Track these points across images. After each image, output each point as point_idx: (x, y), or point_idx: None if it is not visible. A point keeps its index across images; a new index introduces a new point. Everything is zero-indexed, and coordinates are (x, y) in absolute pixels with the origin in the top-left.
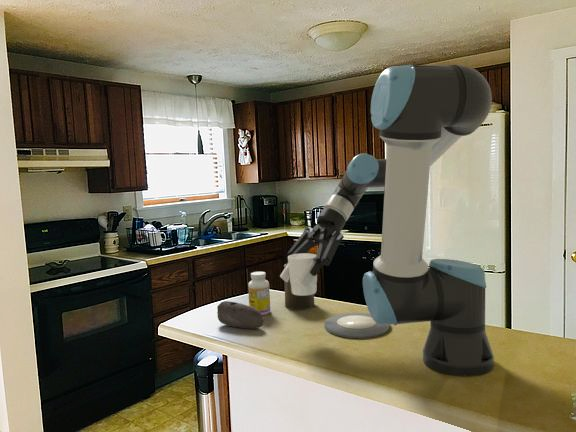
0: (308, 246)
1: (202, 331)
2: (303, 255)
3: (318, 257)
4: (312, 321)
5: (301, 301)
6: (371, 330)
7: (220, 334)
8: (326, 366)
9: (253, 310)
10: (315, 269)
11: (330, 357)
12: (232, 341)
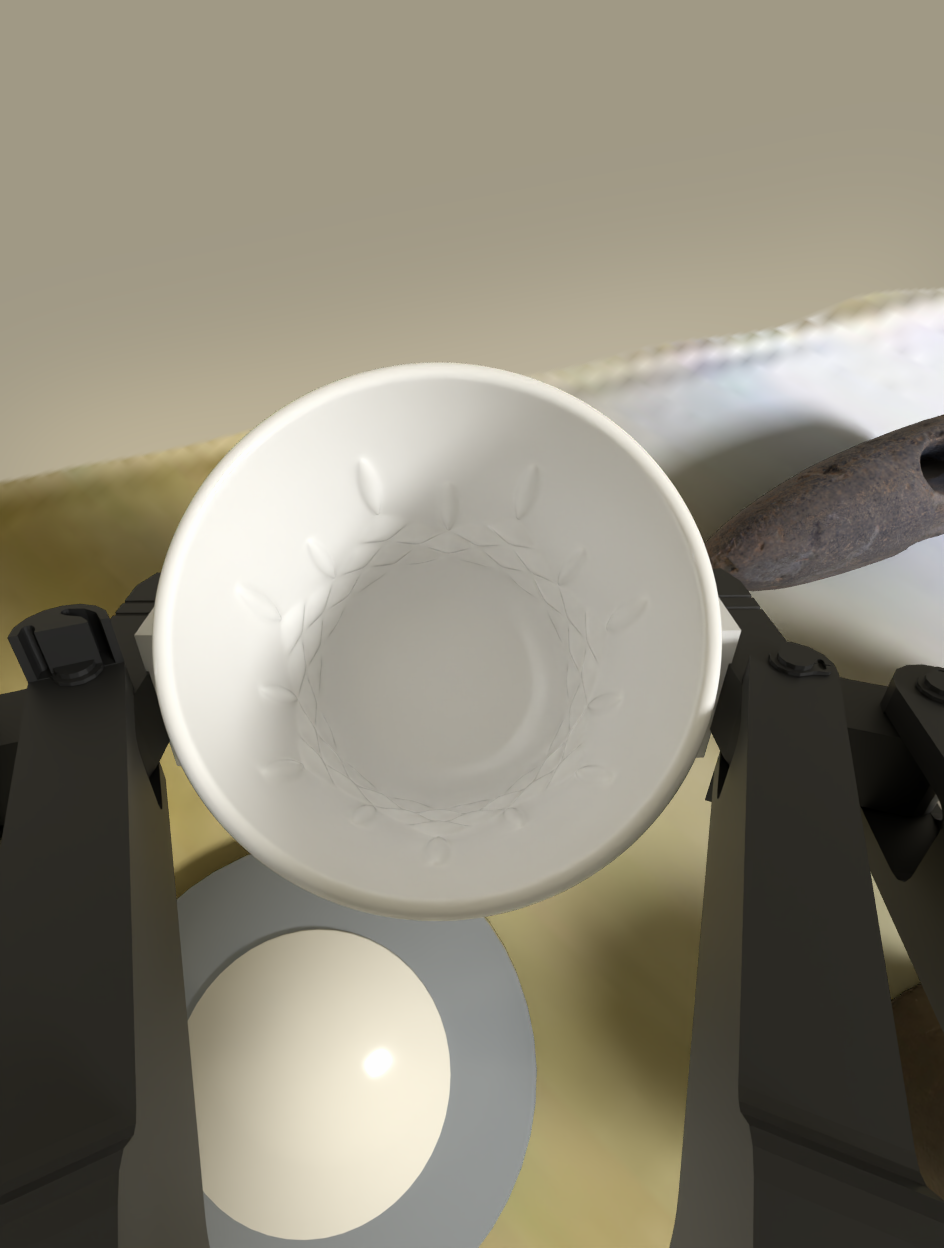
0: (708, 1027)
1: (873, 353)
2: (627, 803)
3: (52, 704)
4: (606, 911)
5: (908, 1066)
6: None
7: (770, 393)
8: (58, 510)
9: (772, 517)
10: (121, 616)
11: (114, 594)
12: (638, 384)
